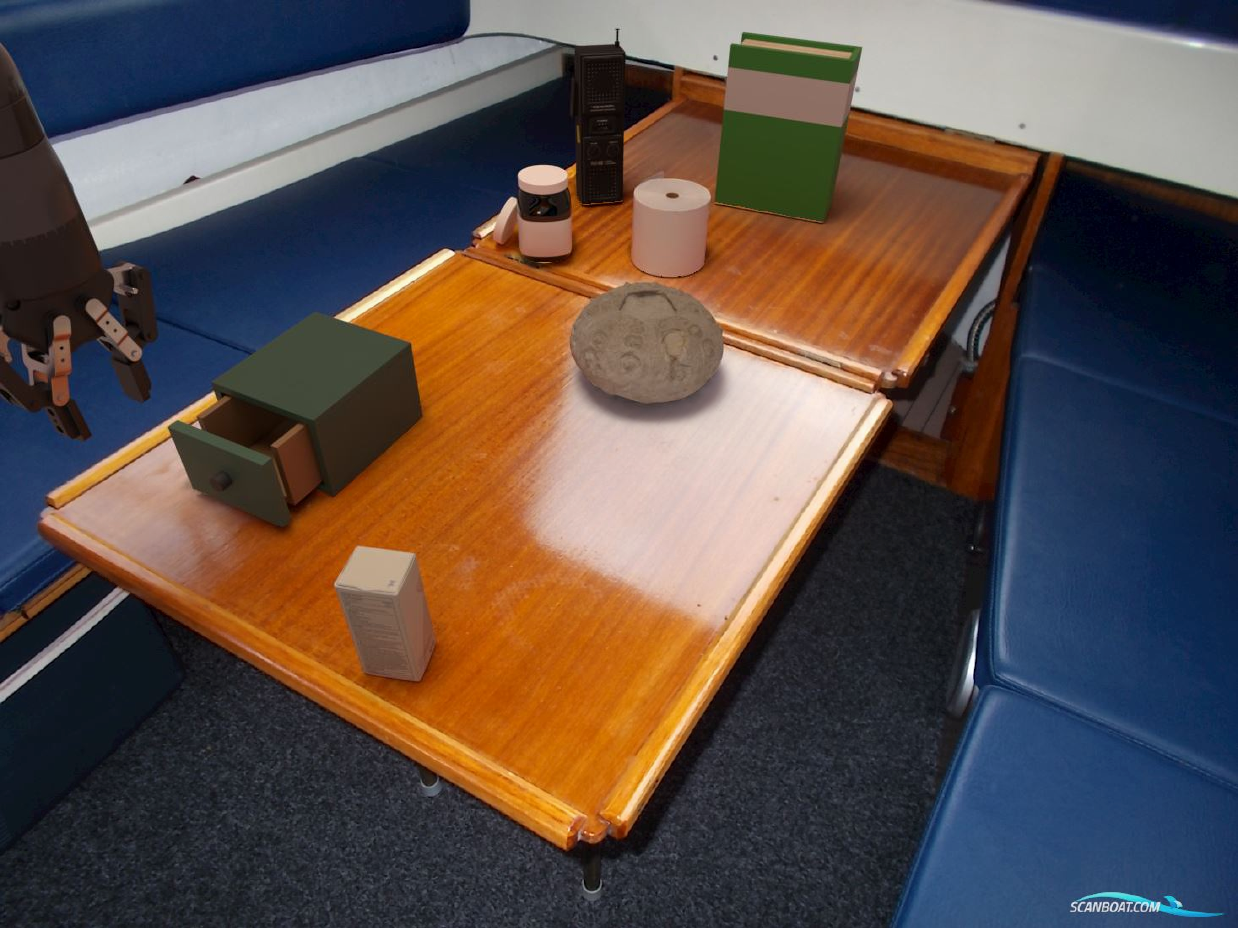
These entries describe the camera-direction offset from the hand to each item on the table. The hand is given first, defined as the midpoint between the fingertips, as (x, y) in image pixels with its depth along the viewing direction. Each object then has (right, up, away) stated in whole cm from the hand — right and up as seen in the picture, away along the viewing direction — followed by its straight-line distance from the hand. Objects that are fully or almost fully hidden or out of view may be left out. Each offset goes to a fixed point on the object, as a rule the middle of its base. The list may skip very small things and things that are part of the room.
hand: (109, 416), depth 67 cm
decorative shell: (+43, +6, +35) cm, 56 cm away
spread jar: (+27, +27, +59) cm, 70 cm away
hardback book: (+65, +38, +72) cm, 104 cm away
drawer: (+6, -4, +20) cm, 21 cm away
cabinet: (+9, -1, +26) cm, 27 cm away
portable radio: (+36, +39, +72) cm, 90 cm away
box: (+22, -20, +5) cm, 30 cm away
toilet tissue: (+46, +26, +58) cm, 78 cm away
